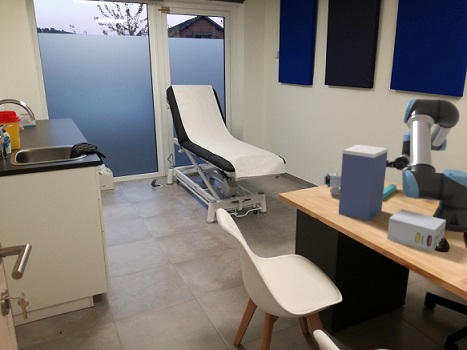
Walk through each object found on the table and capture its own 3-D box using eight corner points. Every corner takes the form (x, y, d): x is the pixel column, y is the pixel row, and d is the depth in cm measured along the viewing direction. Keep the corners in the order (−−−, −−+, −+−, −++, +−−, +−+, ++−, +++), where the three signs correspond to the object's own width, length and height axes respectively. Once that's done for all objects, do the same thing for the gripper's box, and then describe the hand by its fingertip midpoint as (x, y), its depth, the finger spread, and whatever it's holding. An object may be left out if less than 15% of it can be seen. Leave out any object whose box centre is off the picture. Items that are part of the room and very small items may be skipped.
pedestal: (352, 204, 190) (357, 144, 182) (381, 210, 181) (387, 148, 173) (338, 213, 178) (343, 150, 170) (368, 221, 170) (374, 154, 161)
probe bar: (390, 188, 215) (391, 183, 214) (396, 190, 213) (396, 184, 212) (374, 200, 197) (375, 194, 196) (380, 201, 195) (381, 195, 194)
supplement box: (386, 239, 152) (388, 217, 149) (399, 229, 161) (401, 208, 158) (432, 253, 141) (435, 229, 138) (443, 241, 150) (446, 219, 147)
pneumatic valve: (323, 193, 207) (324, 171, 204) (345, 193, 207) (346, 171, 204) (325, 196, 202) (326, 174, 199) (347, 196, 202) (349, 174, 199)
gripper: (425, 172, 211) (413, 181, 195) (379, 165, 226) (365, 173, 211) (427, 159, 209) (415, 166, 193) (381, 153, 224) (366, 159, 209)
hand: (389, 170), depth 202 cm, fingers open, 13 cm apart
